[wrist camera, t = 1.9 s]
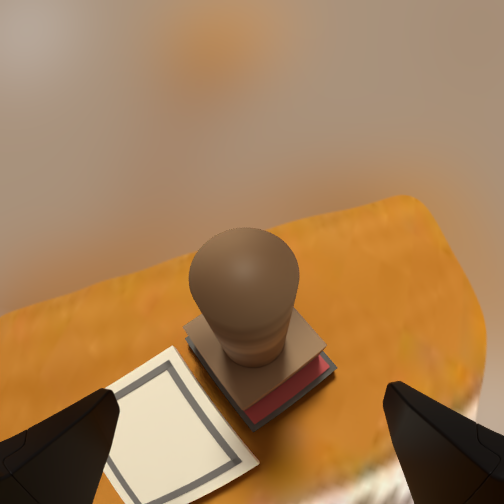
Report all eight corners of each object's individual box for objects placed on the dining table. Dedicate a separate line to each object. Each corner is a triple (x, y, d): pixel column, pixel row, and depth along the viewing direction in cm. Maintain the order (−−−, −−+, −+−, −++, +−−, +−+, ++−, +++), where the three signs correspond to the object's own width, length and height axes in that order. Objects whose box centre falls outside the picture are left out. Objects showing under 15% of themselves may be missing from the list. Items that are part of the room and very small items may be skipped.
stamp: (318, 355, 18) (372, 286, 9) (245, 410, 17) (219, 405, 7) (263, 291, 21) (260, 179, 12) (193, 339, 19) (128, 258, 10)
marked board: (259, 461, 16) (259, 464, 15) (145, 519, 13) (139, 523, 12) (176, 348, 20) (172, 345, 19) (77, 409, 17) (70, 408, 16)
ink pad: (334, 369, 19) (338, 367, 18) (253, 431, 17) (253, 432, 16) (265, 288, 22) (264, 282, 21) (187, 341, 20) (184, 337, 19)
